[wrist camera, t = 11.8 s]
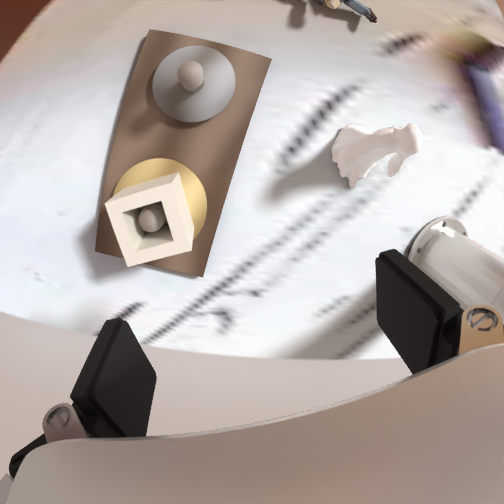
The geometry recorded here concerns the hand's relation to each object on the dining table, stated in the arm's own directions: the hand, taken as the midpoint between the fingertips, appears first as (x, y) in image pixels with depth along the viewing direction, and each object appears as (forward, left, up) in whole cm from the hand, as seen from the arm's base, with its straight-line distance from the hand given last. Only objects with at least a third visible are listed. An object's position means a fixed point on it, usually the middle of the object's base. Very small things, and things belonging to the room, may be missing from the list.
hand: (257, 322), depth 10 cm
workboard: (+6, -2, -23) cm, 24 cm away
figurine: (-13, -8, -24) cm, 28 cm away
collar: (+6, +3, -21) cm, 22 cm away
